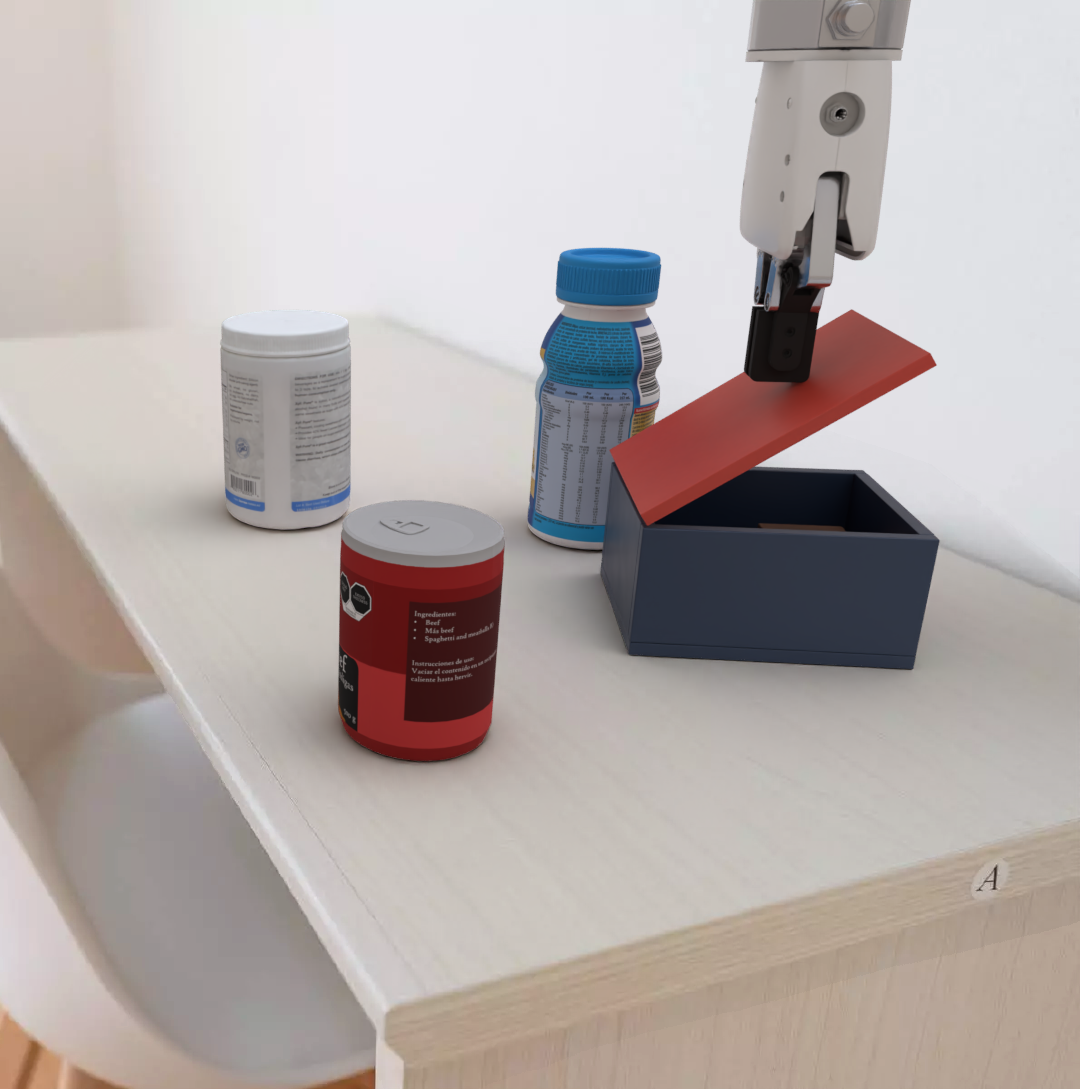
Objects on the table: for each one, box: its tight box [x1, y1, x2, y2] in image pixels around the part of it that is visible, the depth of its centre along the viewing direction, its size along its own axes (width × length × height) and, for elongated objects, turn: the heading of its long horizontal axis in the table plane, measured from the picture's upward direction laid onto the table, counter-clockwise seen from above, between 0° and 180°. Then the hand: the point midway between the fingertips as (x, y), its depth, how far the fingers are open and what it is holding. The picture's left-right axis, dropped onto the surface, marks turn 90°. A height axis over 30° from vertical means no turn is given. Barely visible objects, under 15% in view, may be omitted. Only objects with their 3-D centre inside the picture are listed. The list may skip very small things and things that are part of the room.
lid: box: [609, 308, 938, 526], centre depth 71 cm, size 16×13×1 cm
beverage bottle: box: [526, 247, 663, 551], centre depth 86 cm, size 8×8×20 cm
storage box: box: [599, 462, 941, 670], centre depth 74 cm, size 16×13×8 cm
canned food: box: [337, 499, 506, 762], centre depth 61 cm, size 8×8×11 cm
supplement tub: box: [219, 309, 352, 531], centre depth 91 cm, size 10×10×15 cm
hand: (775, 378), depth 70 cm, fingers closed
